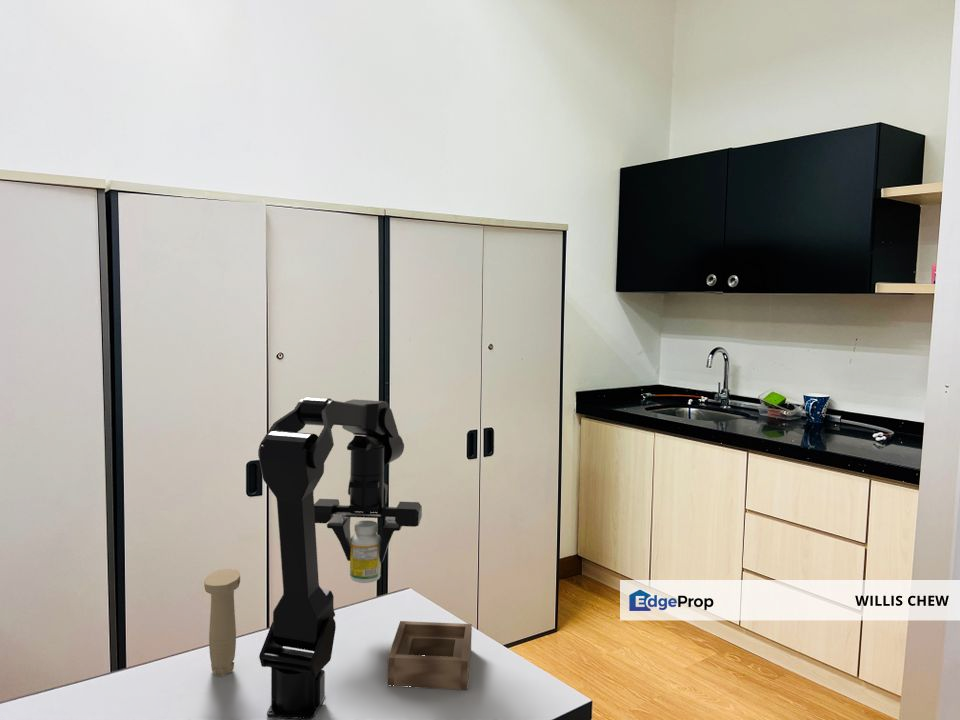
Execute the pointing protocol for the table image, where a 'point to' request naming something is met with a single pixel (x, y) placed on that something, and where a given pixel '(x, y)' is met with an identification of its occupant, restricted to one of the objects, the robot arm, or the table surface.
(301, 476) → the robot arm
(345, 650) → the table surface
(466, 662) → the walnut box
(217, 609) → the handle
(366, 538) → the supplement bottle
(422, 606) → the table surface
